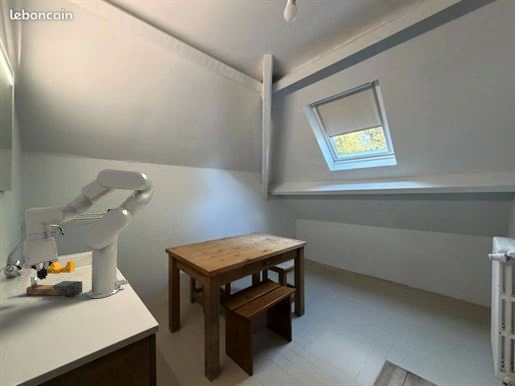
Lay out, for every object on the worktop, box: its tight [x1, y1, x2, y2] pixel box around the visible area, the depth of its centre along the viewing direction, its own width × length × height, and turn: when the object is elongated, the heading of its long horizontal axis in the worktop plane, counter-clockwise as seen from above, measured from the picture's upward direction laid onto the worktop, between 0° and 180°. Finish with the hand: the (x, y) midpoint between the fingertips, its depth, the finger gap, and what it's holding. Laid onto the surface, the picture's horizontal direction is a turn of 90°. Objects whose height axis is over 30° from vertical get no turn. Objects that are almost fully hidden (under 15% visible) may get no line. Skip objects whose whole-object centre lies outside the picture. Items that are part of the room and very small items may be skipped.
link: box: [25, 284, 66, 296], centre depth 100 cm, size 18×5×2 cm, turn 89°
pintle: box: [30, 276, 38, 287], centre depth 100 cm, size 2×2×4 cm
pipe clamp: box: [47, 259, 75, 275], centre depth 125 cm, size 12×4×6 cm, turn 90°
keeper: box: [52, 280, 83, 299], centre depth 99 cm, size 9×5×5 cm, turn 86°
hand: (42, 278), depth 94 cm, fingers closed
